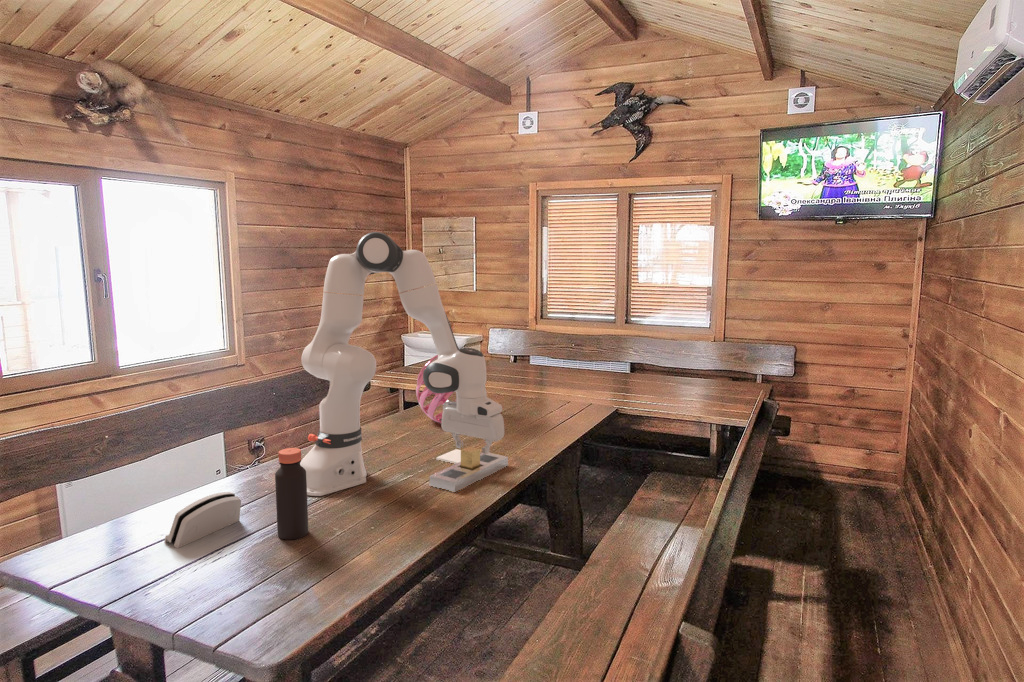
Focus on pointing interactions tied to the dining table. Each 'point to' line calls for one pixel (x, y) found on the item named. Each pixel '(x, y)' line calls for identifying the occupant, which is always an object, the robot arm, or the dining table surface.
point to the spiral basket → (421, 396)
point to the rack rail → (467, 472)
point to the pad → (451, 456)
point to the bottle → (291, 495)
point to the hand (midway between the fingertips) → (472, 450)
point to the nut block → (470, 458)
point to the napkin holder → (204, 518)
